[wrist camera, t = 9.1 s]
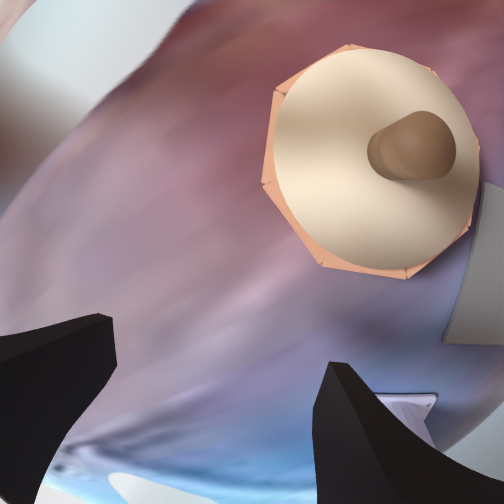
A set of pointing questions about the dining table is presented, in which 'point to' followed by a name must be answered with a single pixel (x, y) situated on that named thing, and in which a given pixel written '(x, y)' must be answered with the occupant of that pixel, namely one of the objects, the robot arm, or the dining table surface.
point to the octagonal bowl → (278, 198)
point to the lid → (376, 159)
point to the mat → (482, 278)
